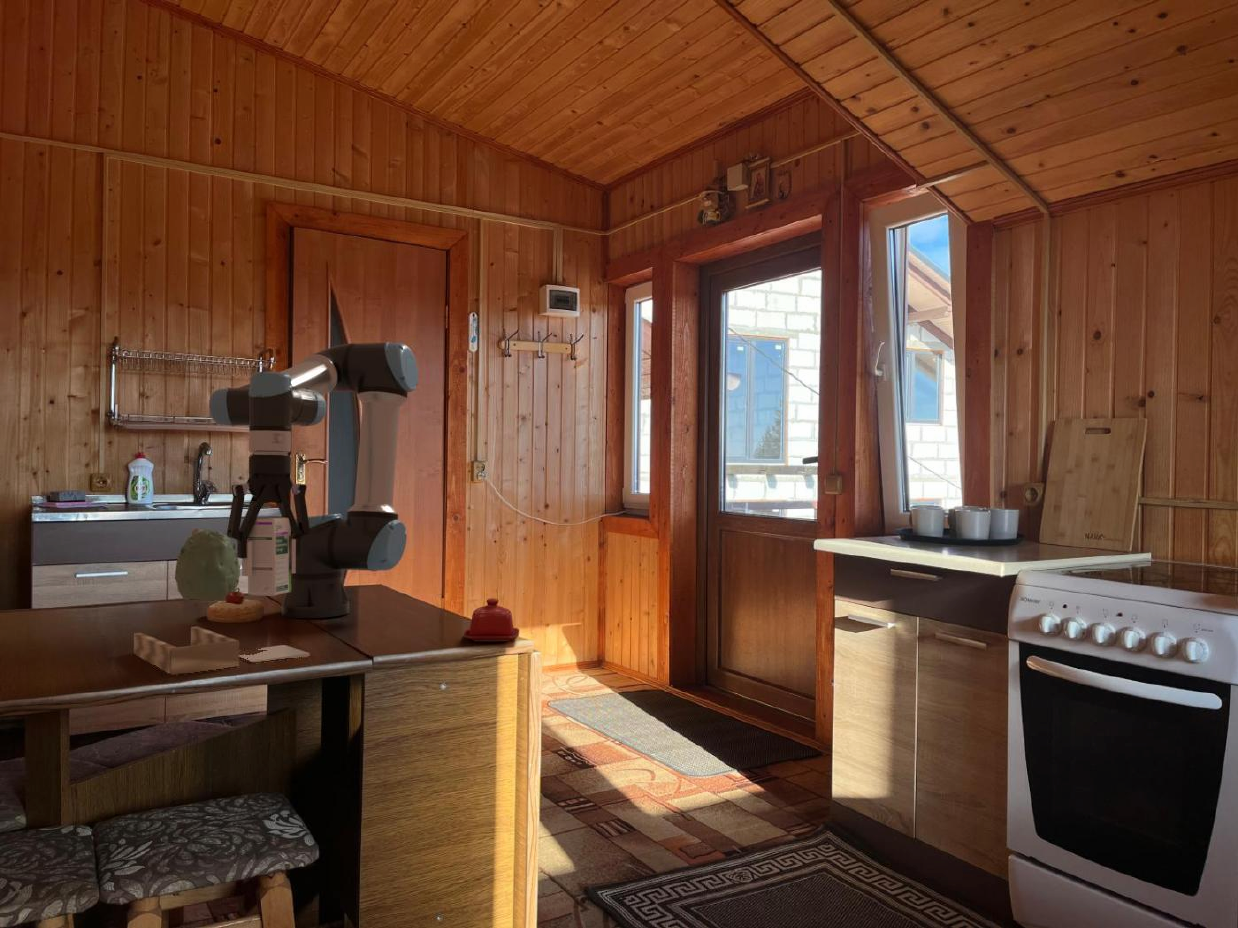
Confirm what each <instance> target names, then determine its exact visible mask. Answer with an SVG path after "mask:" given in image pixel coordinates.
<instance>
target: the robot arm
mask: <svg viewBox="0 0 1238 928" xmlns="http://www.w3.org/2000/svg"><path fill="white" fill-rule="evenodd" d="M416 360H417V359H416V358H415V355H414V353H413V351H412V350H411V348H410V347H409V346H408V345H407V344H405V343H402V342H391V341H386V342H371V343H370V342H369V343H368V342H367V343H366V342H365V343H363V342H361V343H344V344H340V345H336V346H335V345H334V346H333V347H329V348H326V349H323V350H321V351H318V352H316V353H313V354H311V355H308V356H306V357H304V359H302V361H301V363H299V364H297V365H294V366H292V367H289V368H286V369H284V370H282V371H279V372H277V371H258V372H257V371H256V372H253V373H252V374H251V375H250V377H249V378H250V379H249V383H248V384H245V385H242V386H240V387H236V388H235V387H234V388H231V387H227V388H217V389H216V390H215V391H213V393H212V394H211V396H210V398H209V402H208V408H209V414H210V417H211V418H212V420H213V421H214V422H215V423H216V424H218V425H220V426H231V427H235V426H249V427H248V429H249V430H248V451H249V452H250V453H252V454H251V455H249V456H248V478H247V479H248V480H247V481H246V482H245V483H241V484H232V485H231V493H232V502H231V506H230V514H229V519H228V526H227V532H226V534H227V536H228V537H229V538H230V539H234V540H236V541H237V545H236V546H237V548H236V549H237V551H236V552H237V558H238V559H241V576H244V577H247V578H248V577H250V576H252V541H248V538H249V535H250V533H251V530H252V528H253V526H254V523H255V521H256V518H258V516H259V513H260V511H261V509H262V508H263V506H264V504H269V503H270V504H271V503H272V504H275V505H276V506H277V508H278V510H279V513H280V514H281V517H286V518H288V519H289V522H290V526H291V592H288V593H284V598H283V600H282V601H283V602H282V604H281V616H283V617H286V618H293V619H295V618H296V619H318V618H319V619H321V618H330V617H331V618H333V617H339V616H343V615H347V614H349V613H350V601H349V599H348V595H347V593H346V589H345V587H344V583H343V580H342V579H343V577H342V576H343V575H342V573H343V572H342V571H344V570H345V571H347V570H348V571H369V572H370V571H371V572H378V571H390V570H391V569H394V568H396V566H398V564H399V563H400V561H401V560H402V558H403V555H404V553H405V549H406V546H407V537H408V536H407V532H406V525H405V524H404V522H403V521H401V520H399V512H398V511H396V509H395V508H394V506H393V505H394V490H395V479H396V478H395V475H396V466H397V465H396V464H397V463H396V462H397V449H398V439H399V437H398V436H399V424H400V412H401V411H400V410H401V407H402V406H403V405H404V404H406V402H407V401H408V393H411V392H414V391H415V390H416V389H417V386H418V383H419V369H418V364H417V361H416ZM334 392H335V393H337V392H343V393H344V392H350V393H351V392H353V393H356V397H357V398H358V399H359V401H360V402H361V403H362V412H361V423H360V435H359V448H358V457H357V458H358V461H357V469H356V471H357V472H356V482H355V483H356V484H355V495H354V504H353V505H352V506H350V508H349V509H347V512H346V518H345V519H344V516H343V515H342V514H341V513H330V514H323V515H313V516H309V515H308V509H307V507H308V506H307V501H306V494H307V493H306V492H307V487H308V486H307V485H306V484H304V483H294V482H293V481H292V479H291V473H292V457H291V455H288V453H291V451H292V426H299V427H309V426H310V427H311V426H316V425H318V424H319V423H321V422H322V421H323V419H324V418H325V416H326V413H327V402H326V400H325V398H324V396H323V395H327V394H329V393H334ZM248 491H249V493H250V494H251V495H252V496H251V499H250V501H249V504H248V505H249V506H248V508H247V511H246V513H245V516H244V518H243V521H242V517H243V509H244V505H245V496H246V495H247V492H248ZM290 491H291V493H292V494H293V502H294V508H295V516H296V518H295V516H294V513H293V512H292V511H293V510H292V508H291V503H290V500H289V498H288V494H289V492H290Z"/></svg>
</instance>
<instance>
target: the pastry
mask: <svg viewBox="0 0 1238 928" xmlns="http://www.w3.org/2000/svg"><path fill="white" fill-rule="evenodd" d="M225 600H226V601H218V602H217V603H214V604H212V605H211V604H209V606H208V607H207V609H206V618H207V621H210V622H215V623H221V624H223V623H224V624H225V623H226V624H227V623H229V624H231V623H232V624H233V623H234V624H235V623H247V622H248V623H249V622H255V621H260V620H261V619H262V618H263V616H264V612H265V605H264V603H263V602H262V601H260V599H259V600H256V599H253V600H251V599H249V598H247V599H245V595H244V593H243V592H242V591H240V588H239V587H236V589H235V591H234V592H230V593H228V594H227V595H226V597H225Z"/></svg>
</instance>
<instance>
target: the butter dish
mask: <svg viewBox="0 0 1238 928" xmlns="http://www.w3.org/2000/svg"><path fill="white" fill-rule="evenodd" d="M486 603H487V605H483V606H481V607H478V608H476V609H475V610H474V609H473V612H472V615H471V621H470V625H469V626H470V627H469V628H468V627H467V628H466V629H465V631H464V633H463V636H464V638H466V639H470V640H473V641H474V642H509V641H510V640H514V639H516V638H518V637H519V636H520V629H519V628H518V627H514V622H513V616H512V611H511V610H510V609H508V608H507V607H503V606H500V605H498V603H499V599H497V598H494V597H491V598H488V599H486Z"/></svg>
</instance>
